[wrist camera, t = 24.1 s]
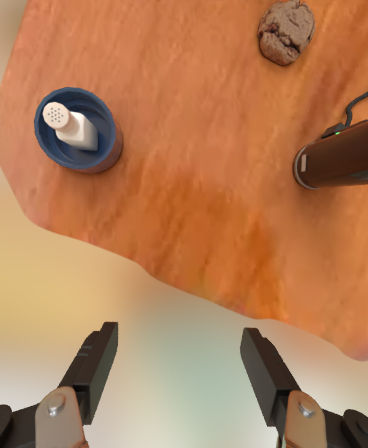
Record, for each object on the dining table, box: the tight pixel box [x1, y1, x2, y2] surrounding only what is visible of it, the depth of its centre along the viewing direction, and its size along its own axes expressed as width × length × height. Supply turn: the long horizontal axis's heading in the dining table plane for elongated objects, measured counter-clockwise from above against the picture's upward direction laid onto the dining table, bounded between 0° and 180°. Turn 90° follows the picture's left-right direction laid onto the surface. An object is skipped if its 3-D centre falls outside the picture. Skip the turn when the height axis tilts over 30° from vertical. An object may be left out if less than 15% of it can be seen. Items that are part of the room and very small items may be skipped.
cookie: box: [257, 0, 315, 65], centre depth 33 cm, size 10×11×3 cm
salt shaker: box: [43, 102, 98, 151], centre depth 28 cm, size 4×4×10 cm
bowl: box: [34, 87, 122, 173], centre depth 31 cm, size 12×12×5 cm
